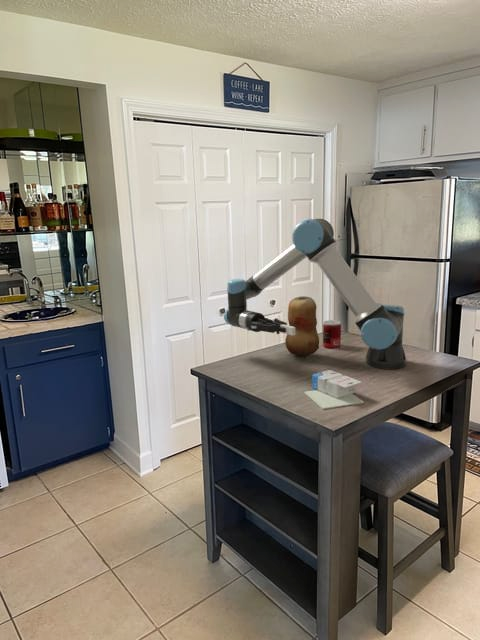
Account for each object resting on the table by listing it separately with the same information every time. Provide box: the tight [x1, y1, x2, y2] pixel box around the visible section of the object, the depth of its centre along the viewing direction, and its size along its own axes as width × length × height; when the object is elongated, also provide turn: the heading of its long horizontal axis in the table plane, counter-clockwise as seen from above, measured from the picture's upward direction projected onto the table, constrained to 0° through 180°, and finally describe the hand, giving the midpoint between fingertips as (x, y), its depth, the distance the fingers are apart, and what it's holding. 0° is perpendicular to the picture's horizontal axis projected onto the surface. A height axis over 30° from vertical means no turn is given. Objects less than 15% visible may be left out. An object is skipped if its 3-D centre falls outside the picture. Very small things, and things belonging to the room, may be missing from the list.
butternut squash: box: [285, 296, 320, 358], centre depth 190 cm, size 14×13×25 cm
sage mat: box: [303, 389, 365, 410], centre depth 150 cm, size 14×14×1 cm
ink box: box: [311, 369, 362, 398], centre depth 153 cm, size 8×5×15 cm
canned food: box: [322, 319, 342, 350], centre depth 204 cm, size 8×8×11 cm
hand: (293, 331), depth 165 cm, fingers closed
